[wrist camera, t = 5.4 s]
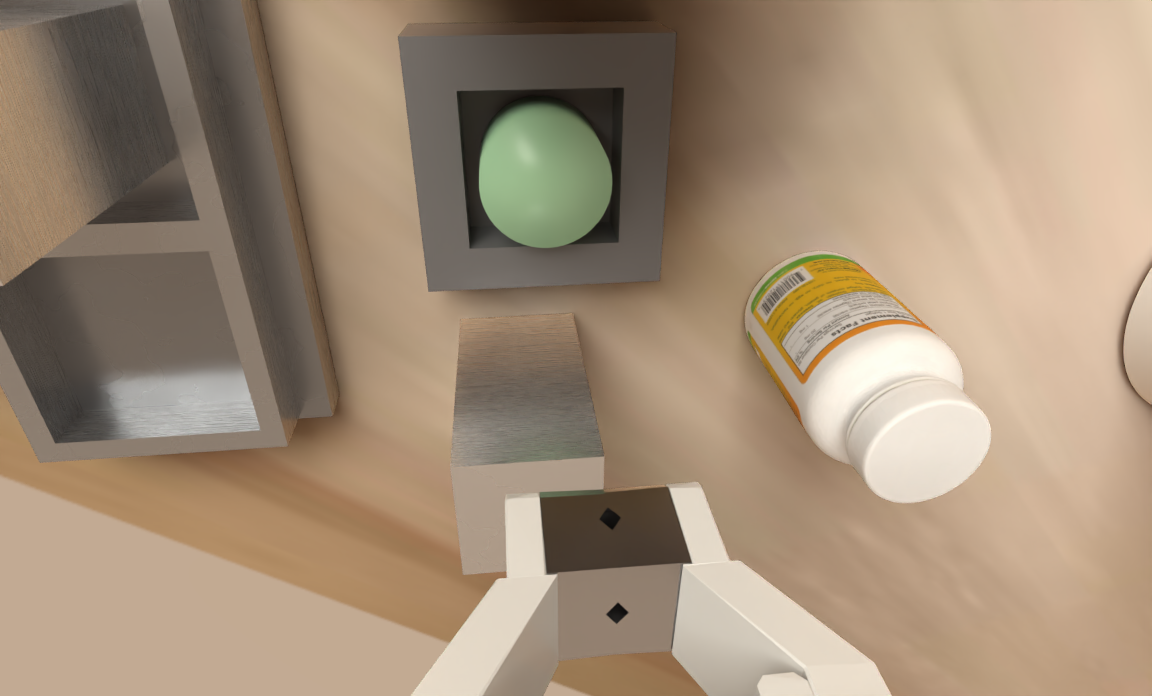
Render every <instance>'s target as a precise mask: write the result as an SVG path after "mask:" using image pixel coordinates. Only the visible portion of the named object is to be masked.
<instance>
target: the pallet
mask: <svg viewBox="0 0 1152 696" xmlns="http://www.w3.org/2000/svg"><path fill="white" fill-rule="evenodd" d="M0 385H1V387H2V389H3V391H4V393H5V395H6V397H7V399H8V401H9V403H10V405H11V407H12V409H13V411H14V413H15V415H16V417H17V418H18V420H19V422H20V424H21V426H22V428H23V430H24V432H25V434H26V436H27V438H28V440H29V442H30V444H31V446H32V448H33V450H34V452H35V454H36V456H37V458H38V460H39V462H40V463H43V462H58V461H73V460H88V459H103V458H118V457H134V456H149V455H164V454H179V453H194V452H209V451H224V450H240V449H255V448H270V447H285V446H288V445H289V442H290V440H291V437H292V435H293V432H294V429H295V427H296V424H297V421H298V419H299V418H314V417H330V416H333V413H334V410H335V407H336V404H337V400H338V397H339V391H338V386H337V382H336V377H335V372H334V367H333V363H332V358H331V353H330V348H329V344H328V339H327V334H326V329H325V325H324V320H323V315H322V310H321V306H320V301H319V296H318V291H317V287H316V282H315V277H314V272H313V268H312V263H311V258H310V253H309V248H308V244H307V239H306V234H305V229H304V225H303V220H302V215H301V210H300V206H299V201H298V196H297V191H296V187H295V182H294V177H293V172H292V168H291V163H290V158H289V153H288V149H287V144H286V139H285V134H284V130H283V125H282V120H281V115H280V111H279V106H278V101H277V96H276V91H275V87H274V82H273V77H272V72H271V68H270V63H269V58H268V53H267V49H266V44H265V39H264V34H263V30H262V25H261V20H260V15H259V11H258V6H257V1H256V0H0Z"/></svg>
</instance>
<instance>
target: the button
mask: <svg viewBox="0 0 1152 696" xmlns="http://www.w3.org/2000/svg"><path fill="white" fill-rule="evenodd" d="M479 191H480V197H481V201H482V205H483V207H484V209H485V212H486V213H487V215H488V217H489V219H490V220H491V221H492V223H493V224H494V225H495V226H496V227H497V228H498V229H499V230H500V231H501V232H502V233H503V234H505V235H506V236H507V237H509V238H511V239H512V240H514V241H516V242H518V243H521V244H523V245H527V246H531V247H537V248H552V247H559V246H563V245H566V244H569V243H572V242H574V241H576V240H578V239H580V238H581V237H583V236H584V235H586V234H587V233H588V232H589V231H590V230H591V229H593V228H594V226H595V225H596V224H597V223H598V222H599V220H600V219H601V218H602V216H603V214H604V213H605V211H606V209H607V206H608V204H609V201H610V197H611V192H612V172H611V166H610V163H609V160H608V157H607V155H606V153H605V151H604V149H603V147H602V145H601V143H600V141H599V139H598V138H597V136H596V134H595V132H594V130H593V128H592V126H591V124H590V123H589V121H588V120H587V119H586V117H585V116H584V115H583V114H582V113H581V112H580V111H579V110H578V109H577V108H575V107H574V106H572V105H571V104H569V103H567V102H565V101H563V100H561V99H558V98H555V97H549V96H529V97H525V98H521V99H519V100H516V101H514V102H512V103H510V104H508V105H507V106H505V107H504V108H503V109H501V110H500V111H499V112H498V113H497V114H496V115H495V116H494V117H493V119H492V120H491V121H490V123H489V125H488V126H487V128H486V130H485V132H484V135H483V138H482V142H481V147H480V165H479Z"/></svg>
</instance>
